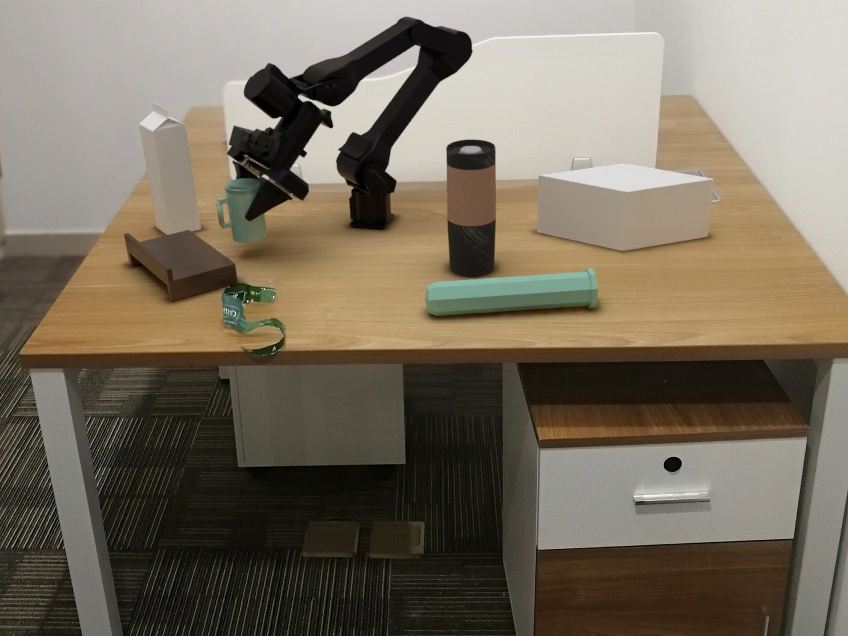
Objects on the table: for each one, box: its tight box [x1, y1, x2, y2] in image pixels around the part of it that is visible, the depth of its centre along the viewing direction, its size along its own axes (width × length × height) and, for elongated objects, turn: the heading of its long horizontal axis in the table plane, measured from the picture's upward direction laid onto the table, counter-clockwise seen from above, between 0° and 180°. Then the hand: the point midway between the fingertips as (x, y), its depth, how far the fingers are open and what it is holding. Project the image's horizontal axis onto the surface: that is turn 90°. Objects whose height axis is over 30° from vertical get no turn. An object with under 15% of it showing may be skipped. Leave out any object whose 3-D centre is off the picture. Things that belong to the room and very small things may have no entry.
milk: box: [138, 101, 202, 236], centre depth 176 cm, size 6×6×22 cm
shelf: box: [123, 230, 239, 303], centre depth 163 cm, size 11×18×5 cm, turn 36°
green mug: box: [215, 178, 268, 244], centre depth 166 cm, size 8×6×9 cm
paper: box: [536, 162, 715, 252], centre depth 172 cm, size 14×29×10 cm, turn 83°
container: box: [424, 267, 599, 317], centre depth 149 cm, size 6×6×25 cm
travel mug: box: [445, 138, 497, 278], centre depth 159 cm, size 8×8×20 cm
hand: (238, 214), depth 166 cm, fingers closed on green mug, 6 cm apart
